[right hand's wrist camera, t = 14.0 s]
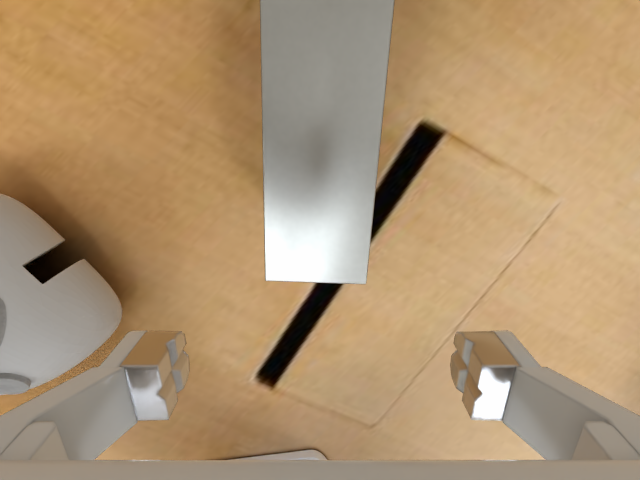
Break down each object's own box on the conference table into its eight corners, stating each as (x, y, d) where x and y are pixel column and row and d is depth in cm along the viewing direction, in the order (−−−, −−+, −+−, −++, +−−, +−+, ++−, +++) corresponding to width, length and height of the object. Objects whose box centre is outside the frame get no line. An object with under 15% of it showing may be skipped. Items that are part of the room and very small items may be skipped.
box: (351, 226, 33) (366, 284, 22) (282, 223, 33) (264, 281, 22) (380, -148, 23) (429, -350, 13) (282, -154, 23) (253, -362, 13)
